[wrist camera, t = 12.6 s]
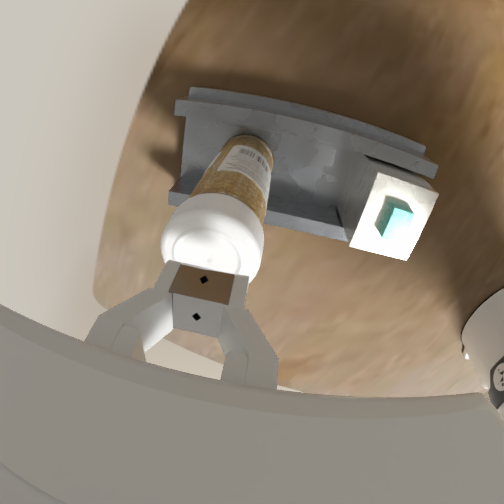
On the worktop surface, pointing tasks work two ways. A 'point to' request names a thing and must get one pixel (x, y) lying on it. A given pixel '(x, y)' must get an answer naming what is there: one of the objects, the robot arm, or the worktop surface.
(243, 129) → the rail
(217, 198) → the sprinkles bottle
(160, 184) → the worktop surface
